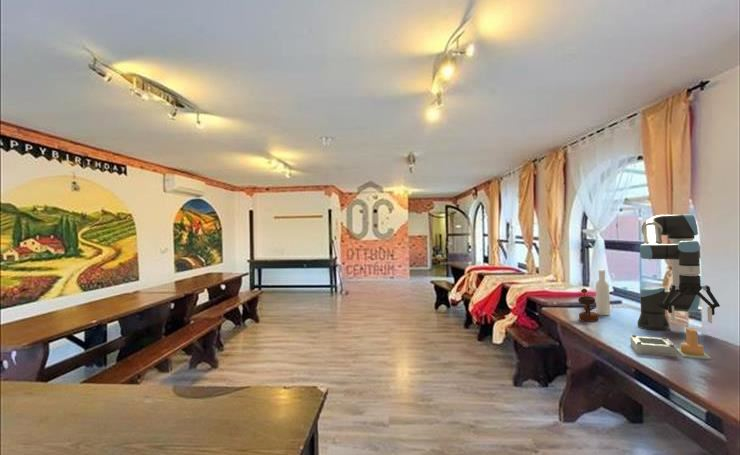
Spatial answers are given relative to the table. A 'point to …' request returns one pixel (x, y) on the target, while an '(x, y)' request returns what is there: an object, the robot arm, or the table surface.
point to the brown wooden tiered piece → (587, 308)
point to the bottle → (602, 295)
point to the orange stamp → (692, 344)
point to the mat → (692, 355)
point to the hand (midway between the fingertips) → (691, 321)
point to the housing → (653, 346)
